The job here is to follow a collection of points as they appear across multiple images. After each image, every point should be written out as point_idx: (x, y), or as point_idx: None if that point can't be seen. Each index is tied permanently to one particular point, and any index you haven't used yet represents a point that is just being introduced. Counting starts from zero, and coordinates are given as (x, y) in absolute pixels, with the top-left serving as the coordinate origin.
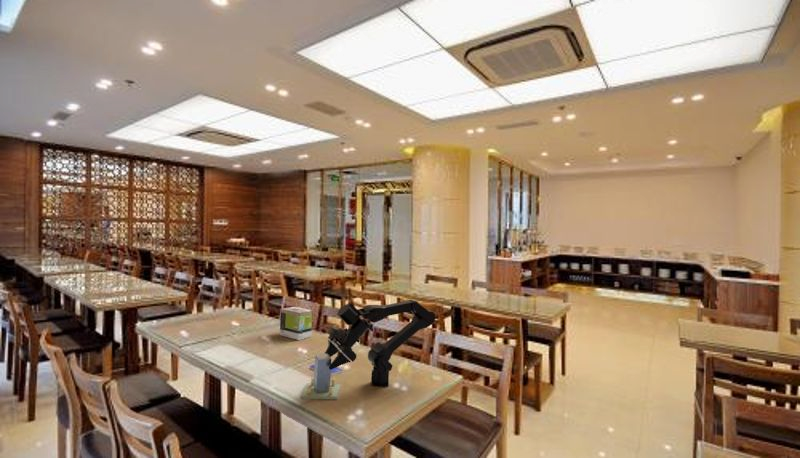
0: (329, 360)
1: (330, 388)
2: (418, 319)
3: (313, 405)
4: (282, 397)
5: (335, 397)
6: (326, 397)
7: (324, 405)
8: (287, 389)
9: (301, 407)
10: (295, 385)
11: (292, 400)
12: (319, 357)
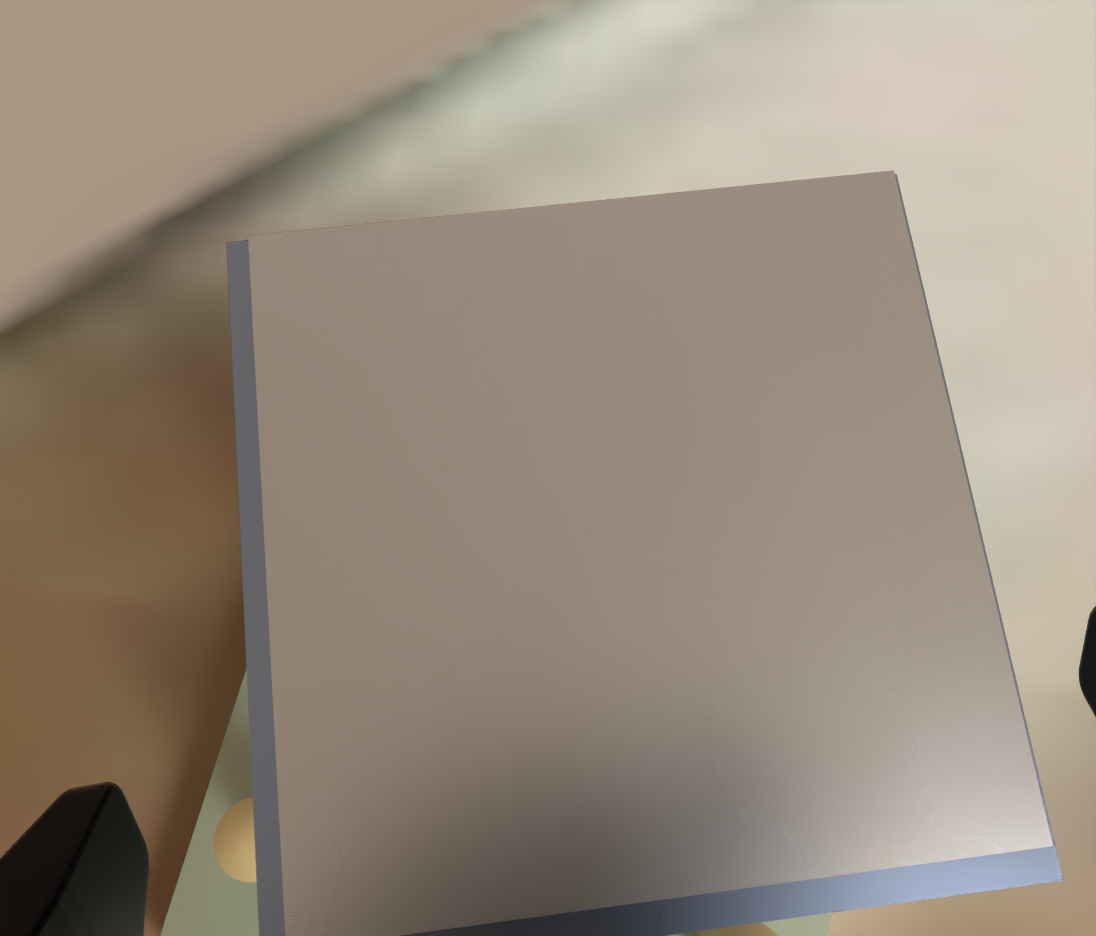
0: (277, 864)
1: (221, 824)
2: None
3: (63, 481)
4: (482, 44)
5: (171, 918)
6: (230, 731)
7: (2, 670)
8: (772, 117)
9: (52, 293)
10: (925, 240)
11: (340, 176)
12: (414, 299)
